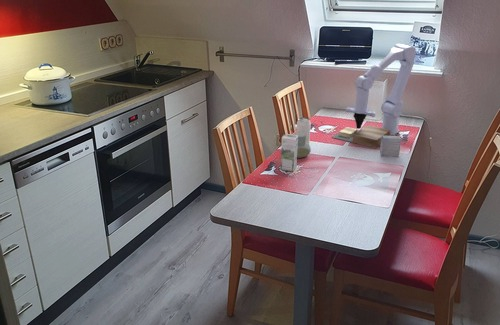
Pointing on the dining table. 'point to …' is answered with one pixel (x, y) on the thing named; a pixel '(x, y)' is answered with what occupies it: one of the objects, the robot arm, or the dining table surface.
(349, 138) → the mat
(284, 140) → the syrup box
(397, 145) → the medicine box
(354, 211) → the dining table surface
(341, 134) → the tile
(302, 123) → the can
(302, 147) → the air freshener
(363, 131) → the brown shallow box
